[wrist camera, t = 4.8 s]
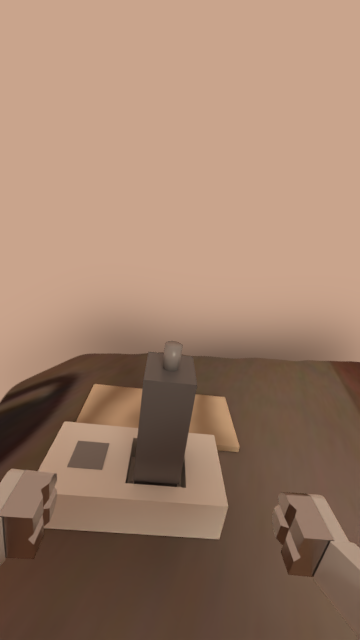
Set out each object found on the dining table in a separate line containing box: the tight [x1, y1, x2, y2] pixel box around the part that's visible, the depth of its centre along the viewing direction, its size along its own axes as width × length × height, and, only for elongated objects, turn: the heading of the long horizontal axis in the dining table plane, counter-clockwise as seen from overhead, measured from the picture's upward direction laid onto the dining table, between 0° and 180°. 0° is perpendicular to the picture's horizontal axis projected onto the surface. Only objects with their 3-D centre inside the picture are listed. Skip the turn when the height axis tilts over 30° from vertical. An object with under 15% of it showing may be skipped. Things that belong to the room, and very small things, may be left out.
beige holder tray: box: [38, 422, 228, 539], centre depth 26 cm, size 16×8×4 cm, turn 91°
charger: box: [133, 341, 197, 487], centre depth 24 cm, size 4×5×14 cm
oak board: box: [76, 384, 240, 452], centre depth 37 cm, size 20×10×1 cm, turn 91°
